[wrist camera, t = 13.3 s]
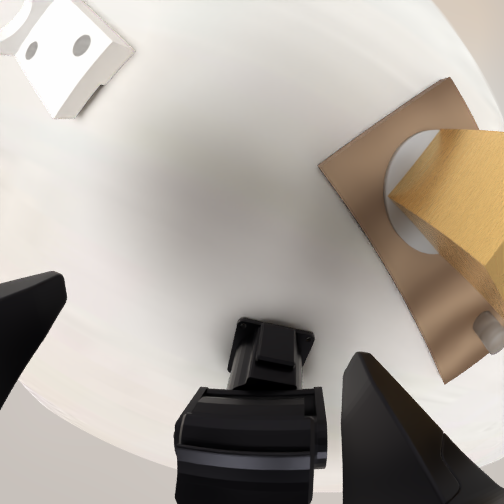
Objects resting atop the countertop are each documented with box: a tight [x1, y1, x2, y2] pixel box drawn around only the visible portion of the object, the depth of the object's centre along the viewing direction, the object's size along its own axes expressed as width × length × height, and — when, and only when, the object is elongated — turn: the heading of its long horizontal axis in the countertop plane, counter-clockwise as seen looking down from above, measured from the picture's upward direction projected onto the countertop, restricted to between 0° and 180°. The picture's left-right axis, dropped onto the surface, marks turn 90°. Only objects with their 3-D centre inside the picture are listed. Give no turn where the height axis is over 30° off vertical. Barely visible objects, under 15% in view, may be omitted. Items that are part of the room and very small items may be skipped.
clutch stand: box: [318, 77, 504, 384], centre depth 16 cm, size 26×12×6 cm, turn 40°
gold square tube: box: [388, 129, 504, 320], centre depth 10 cm, size 6×6×10 cm
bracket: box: [0, 0, 135, 119], centre depth 12 cm, size 13×7×8 cm, turn 40°
